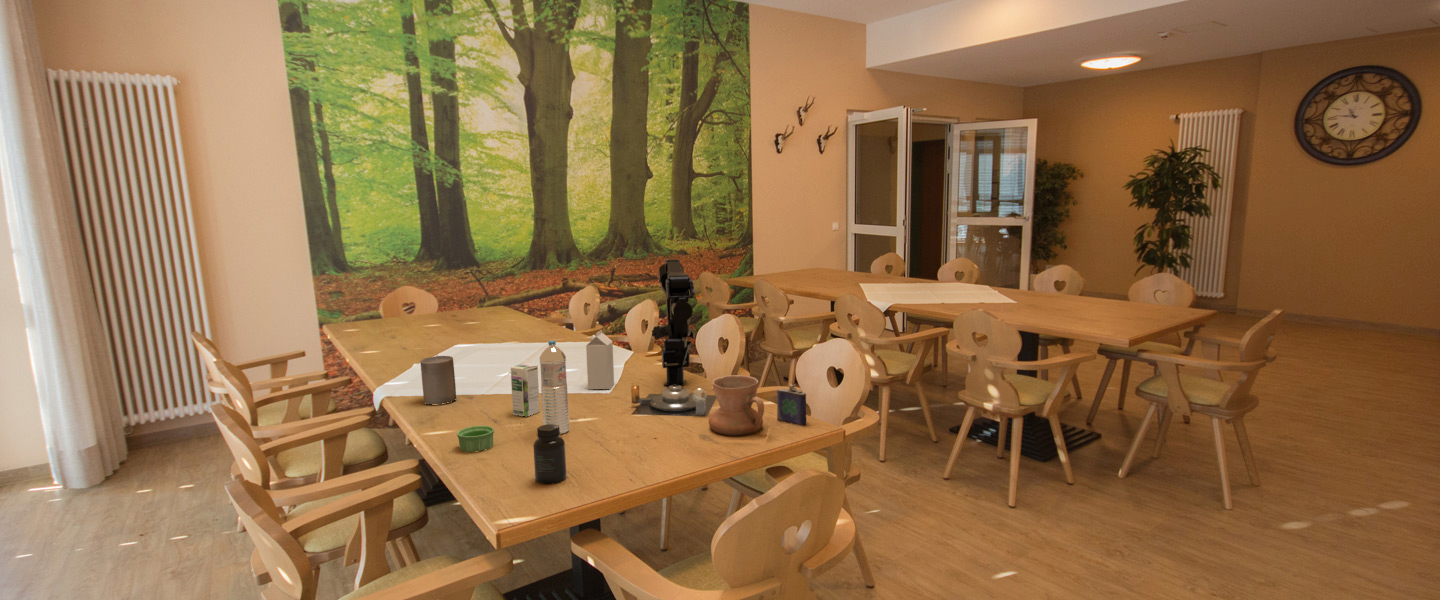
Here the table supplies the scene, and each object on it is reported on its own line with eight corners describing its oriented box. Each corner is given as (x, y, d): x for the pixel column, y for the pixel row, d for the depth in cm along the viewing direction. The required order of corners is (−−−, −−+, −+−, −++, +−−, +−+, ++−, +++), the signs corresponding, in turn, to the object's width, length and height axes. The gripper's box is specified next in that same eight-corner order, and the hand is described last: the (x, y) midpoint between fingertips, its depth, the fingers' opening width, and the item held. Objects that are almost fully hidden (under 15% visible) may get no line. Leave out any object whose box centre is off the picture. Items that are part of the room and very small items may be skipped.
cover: (665, 396, 219) (665, 382, 219) (691, 396, 218) (691, 383, 217) (659, 403, 211) (659, 389, 211) (686, 404, 210) (685, 390, 210)
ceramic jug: (694, 431, 193) (693, 380, 190) (732, 418, 203) (732, 369, 200) (742, 448, 180) (741, 393, 178) (780, 434, 190) (780, 382, 187)
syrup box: (512, 415, 210) (509, 366, 208) (526, 409, 215) (523, 362, 213) (526, 417, 207) (524, 368, 205) (540, 412, 212) (538, 364, 210)
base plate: (649, 396, 227) (649, 393, 227) (718, 398, 224) (718, 395, 224) (631, 417, 205) (630, 414, 205) (706, 419, 202) (706, 416, 202)
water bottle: (560, 426, 199) (556, 337, 196) (574, 431, 194) (570, 340, 191) (538, 431, 194) (533, 341, 191) (552, 437, 189) (547, 344, 186)
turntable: (638, 395, 224) (637, 379, 223) (706, 396, 221) (706, 380, 221) (624, 410, 208) (624, 393, 208) (698, 411, 206) (698, 395, 205)
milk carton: (614, 384, 243) (612, 329, 240) (609, 390, 236) (606, 333, 233) (593, 384, 243) (591, 329, 241) (587, 390, 236) (585, 333, 234)
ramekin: (466, 441, 188) (464, 425, 187) (499, 441, 187) (499, 425, 187) (452, 453, 179) (451, 436, 178) (487, 453, 179) (486, 436, 178)
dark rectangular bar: (694, 412, 206) (694, 385, 205) (708, 413, 205) (708, 385, 204) (692, 416, 203) (692, 388, 201) (706, 416, 202) (706, 389, 201)
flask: (775, 420, 201) (775, 383, 199) (781, 418, 203) (781, 381, 201) (803, 427, 195) (803, 388, 193) (809, 424, 197) (809, 386, 196)
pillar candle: (457, 396, 232) (453, 350, 230) (456, 403, 223) (452, 356, 221) (424, 399, 229) (420, 353, 227) (422, 407, 220) (418, 359, 218)
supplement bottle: (545, 471, 166) (542, 421, 164) (571, 474, 164) (569, 423, 162) (529, 483, 159) (526, 431, 157) (556, 486, 157) (554, 433, 155)
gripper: (660, 311, 230) (661, 358, 232) (646, 320, 211) (648, 372, 213) (694, 311, 228) (695, 359, 230) (683, 321, 210) (685, 373, 212)
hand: (680, 365), depth 221 cm, fingers closed
